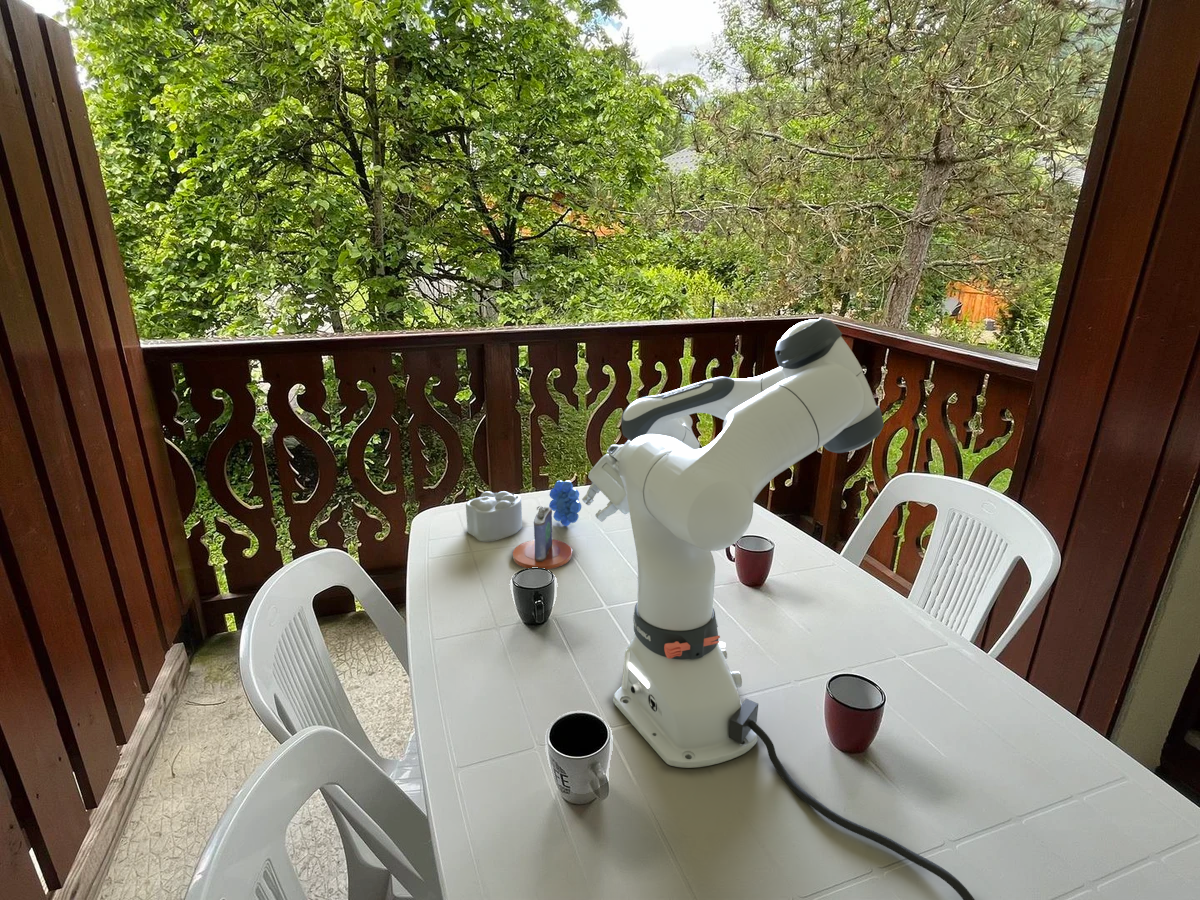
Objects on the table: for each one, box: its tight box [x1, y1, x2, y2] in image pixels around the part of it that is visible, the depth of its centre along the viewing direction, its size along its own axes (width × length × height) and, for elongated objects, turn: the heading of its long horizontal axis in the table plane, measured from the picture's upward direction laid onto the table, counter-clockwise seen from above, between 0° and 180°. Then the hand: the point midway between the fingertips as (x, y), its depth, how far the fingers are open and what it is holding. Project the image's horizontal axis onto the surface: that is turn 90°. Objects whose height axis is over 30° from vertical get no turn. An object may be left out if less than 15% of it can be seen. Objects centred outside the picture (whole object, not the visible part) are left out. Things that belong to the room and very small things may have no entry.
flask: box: [533, 506, 553, 562], centre depth 138 cm, size 9×3×11 cm, turn 172°
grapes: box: [548, 480, 582, 527], centre depth 154 cm, size 12×7×12 cm, turn 40°
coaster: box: [512, 538, 573, 570], centre depth 140 cm, size 13×13×1 cm
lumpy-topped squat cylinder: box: [465, 490, 523, 543], centre depth 152 cm, size 10×13×9 cm
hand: (591, 510), depth 141 cm, fingers open, 8 cm apart
